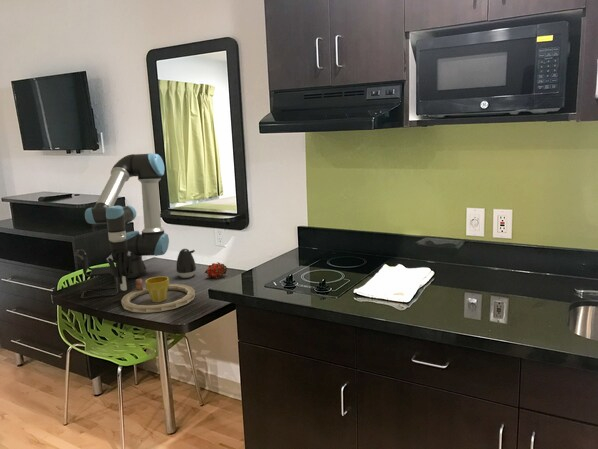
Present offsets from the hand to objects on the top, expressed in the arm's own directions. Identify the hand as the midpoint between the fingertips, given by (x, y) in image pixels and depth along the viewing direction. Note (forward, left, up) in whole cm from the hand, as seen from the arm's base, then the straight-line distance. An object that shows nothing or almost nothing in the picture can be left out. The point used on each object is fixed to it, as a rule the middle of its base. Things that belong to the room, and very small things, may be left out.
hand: (123, 289), depth 226 cm
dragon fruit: (+13, +46, -5) cm, 48 cm away
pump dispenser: (-2, +39, -5) cm, 39 cm away
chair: (-18, -1, -5) cm, 19 cm away
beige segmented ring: (+15, +8, -5) cm, 17 cm away
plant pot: (+14, +8, -5) cm, 17 cm away
